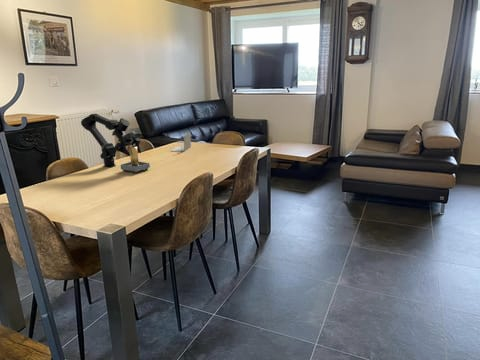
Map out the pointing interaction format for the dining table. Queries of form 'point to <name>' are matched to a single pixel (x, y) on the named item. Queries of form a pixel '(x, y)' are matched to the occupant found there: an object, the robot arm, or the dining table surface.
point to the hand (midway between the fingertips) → (135, 154)
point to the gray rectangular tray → (135, 169)
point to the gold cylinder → (134, 156)
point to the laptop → (186, 144)
